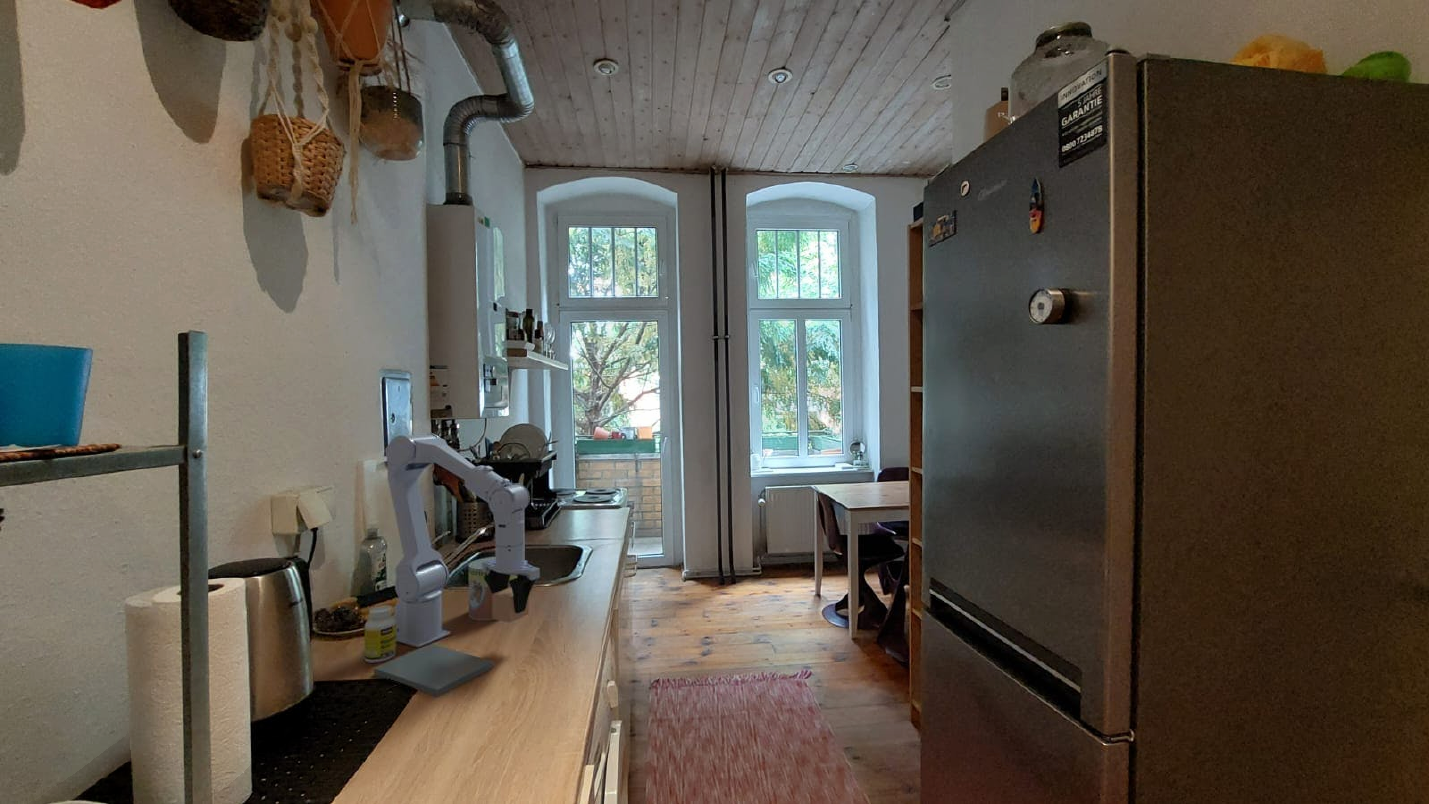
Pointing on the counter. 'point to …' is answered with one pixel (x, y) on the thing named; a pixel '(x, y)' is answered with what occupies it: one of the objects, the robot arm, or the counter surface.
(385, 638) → the supplement bottle
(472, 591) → the canned food
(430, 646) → the slate board
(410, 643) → the robot arm
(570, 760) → the counter surface
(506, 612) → the terracotta cube
